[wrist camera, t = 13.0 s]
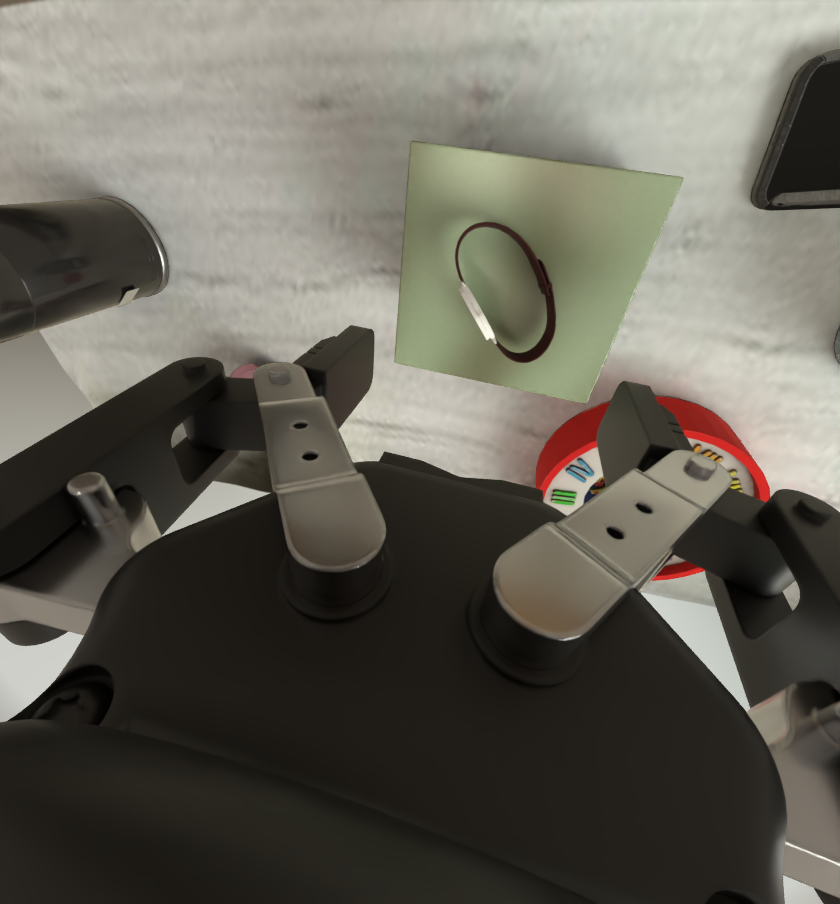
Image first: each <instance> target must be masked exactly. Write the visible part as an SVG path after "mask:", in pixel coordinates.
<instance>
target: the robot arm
mask: <svg viewBox="0 0 840 904" xmlns="http://www.w3.org/2000/svg"><path fill="white" fill-rule="evenodd" d="M168 272H169V269H168V261H167V257H166V253H165V250H164V248H163V245H162V243H161V241H160V239H159V237H158V236H157V234H156V232H155V231H154V229H153V228H152V226H151V225H150V224H149V223H148V221H147V220H146V219H145V218H144V217H143V216H142V215H141V214H140V213H139V212H138V211H137V210H136V209H134V208H133V207H132V206H130V205H129V204H127V203H125V202H124V201H121V200H119V199H116V198H113V197H97V198H93V199H86V200H68V201H53V202H39V203H24V204H9V205H0V343H3V342H6V341H9V340H12V339H15V338H18V337H21V336H24V335H27V334H30V333H33V332H36V331H39V330H42V329H45V328H48V327H52V326H55V325H58V324H61V323H64V322H67V321H70V320H73V319H76V318H79V317H83V316H86V315H89V314H92V313H95V312H98V311H101V310H104V309H107V308H110V307H114V306H117V305H119V306H122V305H125V304H128V303H131V301H133V300H136V299H139V298H142V297H148V296H152V295H155V294H157V293H159V292H160V291H162V290H163V288H164V287H165V285H166V283H167V280H168ZM119 306H118V307H119ZM373 363H374V332H373V330H372V329H367V328H362V327H358V326H353V325H350V326H349V327H348V328H347V329H345V330H344V331H343V332H342V333H340V334H339V335H338V336H337V337H335V336H333V337H330V338H327V339H324V340H321V341H320V342H319V343H317V344H316V345H315V346H314V347H313V348H311V349H310V350H308V351H307V353H305V354H303V355H302V356H301V357H299V358H298V359H297V360H296V361H294V362H293V363H287V362H276V363H269V364H265V365H262V366H260V367H258V368H257V369H255V371H254V372H253V378H235V377H226V375H225V371H224V366H223V364H222V363H221V362H220V361H218V360H216V359H212V358H206V357H194V358H186V359H182V360H178V361H176V362H173V363H171V364H170V365H168V366H166V367H165V368H163V369H161V370H159V371H158V372H156V373H154V374H153V375H151V376H149V377H148V378H146V379H144V380H142V381H141V382H139V383H137V384H136V385H134V386H132V387H131V388H129V389H127V390H125V391H124V392H122V393H120V394H119V395H117V396H115V397H114V398H112V399H110V400H108V401H107V402H105V403H103V404H102V405H100V406H98V407H97V408H95V409H93V410H92V411H90V412H88V413H86V414H85V415H83V416H81V417H80V418H78V419H76V420H74V421H73V422H71V423H69V424H68V425H66V426H64V427H63V428H61V429H59V430H57V431H56V432H54V433H52V434H51V435H49V436H47V437H45V438H44V439H42V440H40V441H39V442H37V443H35V444H34V445H32V446H30V447H28V448H27V449H25V450H24V451H22V452H20V453H18V454H17V455H15V456H13V457H11V458H10V459H8V460H6V461H5V462H3V463H1V464H0V633H1V634H3V636H5V637H6V638H7V639H8V640H9V641H10V642H12V643H14V644H16V645H21V646H31V645H38V644H42V643H45V642H48V641H51V640H53V639H56V638H58V637H60V636H61V635H63V634H65V633H67V632H68V631H70V632H74V633H77V634H82V635H84V637H83V639H82V641H81V642H80V644H79V646H78V647H77V649H76V651H75V653H74V654H73V656H72V658H71V659H70V660H69V662H68V663H67V665H66V666H65V668H64V669H63V670H62V672H61V673H60V675H59V676H58V677H57V678H56V680H55V681H54V682H53V683H52V684H51V686H49V687H48V689H47V690H46V691H44V692H43V693H42V694H41V695H40V696H39V697H38V698H37V699H36V700H35V701H34V702H32V703H31V704H30V705H29V706H27V707H26V708H25V709H24V710H22V711H21V712H20V713H18V714H17V715H16V716H14V717H13V718H11V719H9V720H8V721H6V722H1V723H0V904H785V901H784V888H783V875H785V876H787V877H789V878H792V879H794V880H797V881H799V882H801V883H804V884H806V885H809V886H811V887H814V889H815V891H816V892H817V894H818V896H819V897H820V899H821V900H822V902H823V903H824V904H840V512H839V511H837V510H836V509H835V508H833V507H832V506H830V505H828V504H827V503H825V502H823V501H821V500H819V499H817V498H815V497H813V496H811V495H808V494H805V493H802V492H799V491H795V490H789V489H781V490H778V491H776V492H775V493H774V494H773V495H772V496H771V498H770V499H769V500H768V501H767V502H764V501H762V500H759V499H757V498H754V497H752V496H749V495H747V494H744V493H742V492H739V491H737V490H735V489H732V488H730V486H731V484H732V483H733V479H732V476H731V474H730V473H729V472H728V470H726V469H725V468H724V467H723V466H722V465H721V464H719V463H718V462H716V461H714V460H713V459H711V458H709V457H707V456H704V455H702V454H699V453H696V452H694V450H693V448H692V446H691V444H690V442H689V441H688V439H687V437H686V435H684V431H683V430H682V428H681V427H679V426H680V424H679V422H678V421H677V419H676V417H675V415H674V414H673V413H672V412H670V411H669V410H668V409H667V408H666V407H664V406H663V405H660V404H658V402H657V400H656V398H655V396H654V394H653V392H652V390H651V388H650V386H647V385H642V384H637V383H632V382H627V381H622V382H621V383H620V384H619V386H618V387H617V389H616V391H615V394H614V396H613V398H612V400H611V402H610V404H609V406H608V408H607V410H606V413H605V415H604V417H603V419H602V421H601V423H600V426H599V429H598V432H597V438H596V442H597V447H598V452H599V457H600V462H601V467H602V472H603V476H604V481H605V486H606V489H604V490H603V491H602V492H600V493H599V494H597V495H596V496H595V497H593V498H592V499H590V500H589V501H588V502H586V503H585V504H583V505H582V506H581V507H579V508H578V509H576V510H575V511H573V512H572V513H571V514H569V515H568V516H567V515H565V514H564V513H562V512H561V511H559V510H558V509H556V508H554V507H552V506H550V505H548V504H546V503H544V502H543V490H540V489H536V488H532V487H528V486H524V485H519V484H515V483H511V482H507V481H503V480H491V479H477V478H464V477H458V476H456V475H453V474H451V473H449V472H447V471H444V470H442V469H440V468H437V467H435V466H433V465H431V464H428V463H426V462H424V461H421V460H417V459H413V458H409V457H405V456H401V455H396V454H392V453H388V452H384V453H383V455H382V457H381V459H380V461H365V462H355V463H353V462H352V460H351V457H350V455H349V453H348V451H347V448H346V446H345V444H344V441H343V439H342V437H341V435H340V432H339V430H338V429H339V428H340V427H341V426H342V424H343V423H344V422H345V420H346V419H347V418H348V416H349V415H350V414H351V413H352V411H353V410H354V409H355V407H356V406H357V405H358V404H359V402H360V401H361V400H362V398H363V397H364V396H365V394H366V393H367V392H368V390H369V389H370V386H371V383H372V378H373ZM182 422H183V425H184V428H185V431H186V434H187V437H186V438H184V439H183V440H182V441H181V442H180V443H178V444H177V445H176V446H175V447H174V448H173V449H172V446H171V437H172V434H173V431H174V430H175V428H176V427H177V426H178V425H180V424H181V423H182ZM240 450H250V451H266V456H267V461H268V466H269V472H270V477H271V482H272V488H273V493H270V494H268V495H265V496H263V497H260V498H257V499H255V500H252V501H250V502H247V503H245V504H243V505H240V506H237V507H235V508H232V509H230V510H227V511H225V512H222V513H220V514H217V515H215V516H212V517H210V518H207V519H205V520H202V521H200V522H197V523H194V524H192V525H189V526H187V527H184V528H182V529H179V530H177V531H174V532H172V533H169V534H167V535H165V536H163V537H162V535H163V534H164V532H166V530H167V529H168V528H169V527H170V526H171V525H172V524H173V523H174V522H175V521H176V520H177V519H178V517H180V515H182V513H183V512H184V511H185V510H186V509H187V508H188V507H189V506H190V505H191V504H192V503H193V502H194V501H195V500H196V499H197V497H198V496H199V495H200V494H201V493H202V492H203V491H204V490H205V489H206V488H207V487H208V486H209V485H210V484H211V482H212V481H213V480H214V479H215V478H216V477H217V476H218V475H219V474H220V473H221V472H222V471H223V470H224V469H225V468H226V467H227V465H228V464H229V463H230V462H231V461H232V460H233V459H234V458H235V457H236V456H237V455H238V454H239V452H240ZM674 555H675V556H677V557H679V558H681V559H683V560H685V561H687V562H689V563H691V564H693V565H696V566H698V567H700V568H702V569H704V570H705V574H706V578H707V581H708V584H709V587H710V590H711V593H712V596H713V598H714V601H715V604H716V607H717V610H718V613H719V616H720V619H721V622H722V625H723V628H724V631H725V634H726V637H727V640H728V643H729V646H730V649H731V652H732V655H733V658H734V661H735V664H736V667H737V670H738V672H739V676H740V679H741V682H742V685H743V687H744V690H745V693H746V697H747V699H748V702H749V705H750V708H751V709H750V710H748V711H747V712H746V711H745V709H744V708H743V707H742V706H741V705H740V704H739V702H738V701H737V700H736V699H735V698H734V697H733V695H732V694H731V693H730V692H729V691H728V690H727V689H726V688H725V687H724V685H723V684H722V683H721V682H720V681H719V680H718V679H717V678H716V677H715V675H713V673H712V672H711V671H710V670H709V669H708V668H707V667H706V665H705V664H704V663H703V662H702V661H701V660H700V659H699V658H698V657H697V655H696V654H695V653H694V652H693V651H692V650H691V649H690V648H689V647H688V646H687V644H686V643H685V642H684V641H683V640H682V639H681V638H680V637H679V635H678V634H677V633H676V632H675V631H674V630H673V629H672V628H671V627H670V625H669V624H668V623H667V622H666V621H665V620H664V619H663V618H662V617H661V615H660V614H659V613H658V612H657V611H656V610H655V609H654V608H653V607H652V605H651V604H650V603H649V602H648V601H647V600H646V599H645V598H644V597H643V596H642V595H641V593H640V592H641V591H642V590H643V589H644V588H645V587H646V586H647V585H648V584H649V583H650V581H651V580H652V579H653V578H654V577H655V576H656V575H657V574H658V573H659V572H660V570H661V569H662V568H663V567H664V566H665V565H666V564H667V563H668V562H669V560H670V559H671V558H672V557H673V556H674ZM795 580H796V582H797V584H798V586H799V589H800V600H799V603H798V605H797V607H796V608H795V609H794V610H793V611H792V609H791V607H790V605H789V603H788V601H787V600H786V598H785V596H784V594H783V592H782V591H783V590H785V589H786V588H787V587H788V586H789V585H791V584H792V583H793V582H794V581H795Z"/></svg>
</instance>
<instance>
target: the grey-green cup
mask: <svg viewBox="0 0 840 904" xmlns="http://www.w3.org/2000/svg"><path fill="white" fill-rule="evenodd" d="M835 354H836V357H837V360H838V362H839V363H840V328H839V331H838V333H837V336H836V340H835Z"/></svg>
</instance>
